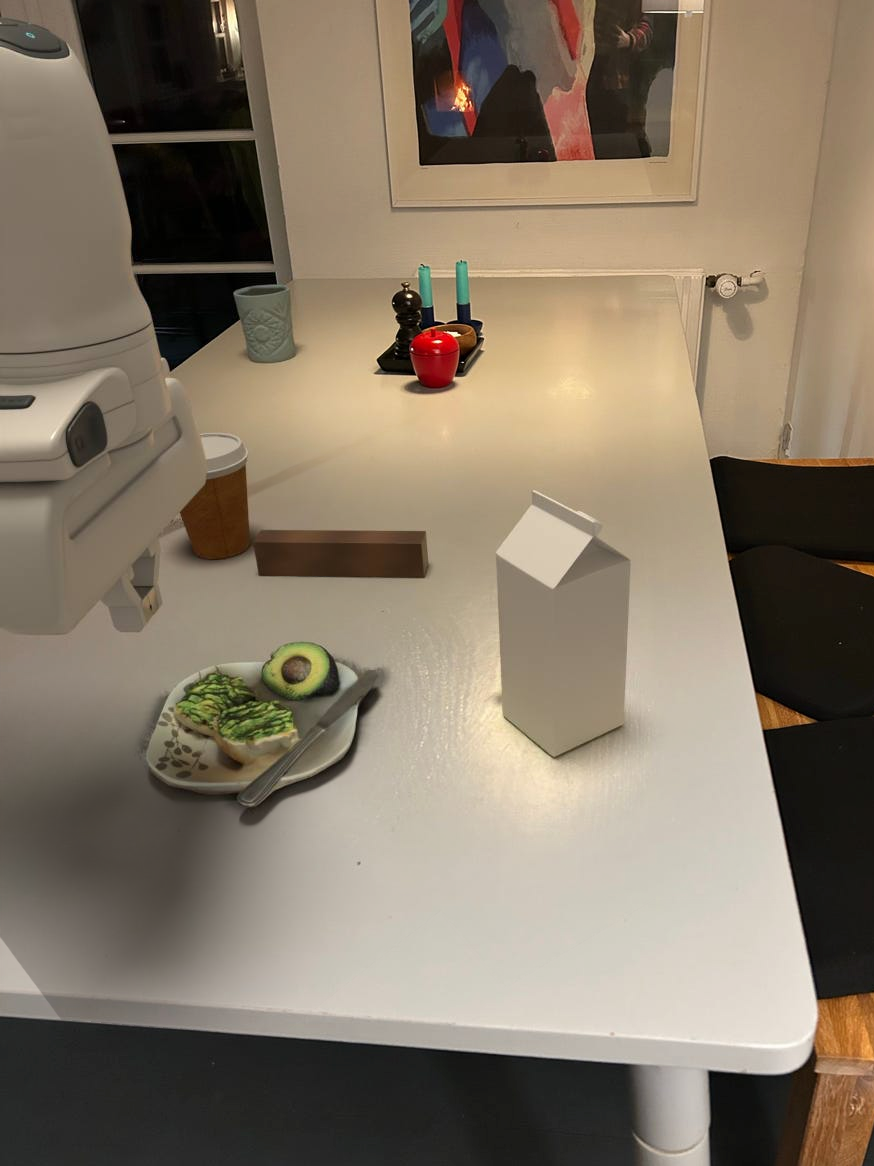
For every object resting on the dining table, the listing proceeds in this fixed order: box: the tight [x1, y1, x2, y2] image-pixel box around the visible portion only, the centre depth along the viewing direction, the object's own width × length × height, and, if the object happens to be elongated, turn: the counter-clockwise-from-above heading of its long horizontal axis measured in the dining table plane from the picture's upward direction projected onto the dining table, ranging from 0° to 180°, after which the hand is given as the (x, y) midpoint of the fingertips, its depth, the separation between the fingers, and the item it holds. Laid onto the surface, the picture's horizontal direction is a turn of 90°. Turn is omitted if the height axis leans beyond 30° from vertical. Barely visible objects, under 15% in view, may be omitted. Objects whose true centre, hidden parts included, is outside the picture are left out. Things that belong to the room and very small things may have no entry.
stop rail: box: [252, 529, 430, 578], centre depth 101 cm, size 18×3×4 cm, turn 84°
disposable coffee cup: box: [179, 432, 251, 560], centre depth 105 cm, size 10×10×12 cm
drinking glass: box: [233, 284, 296, 364], centre depth 174 cm, size 10×10×12 cm
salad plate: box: [145, 641, 380, 809], centre depth 75 cm, size 19×18×5 cm
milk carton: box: [495, 490, 631, 758], centre depth 72 cm, size 7×7×19 cm
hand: (140, 619), depth 56 cm, fingers closed
